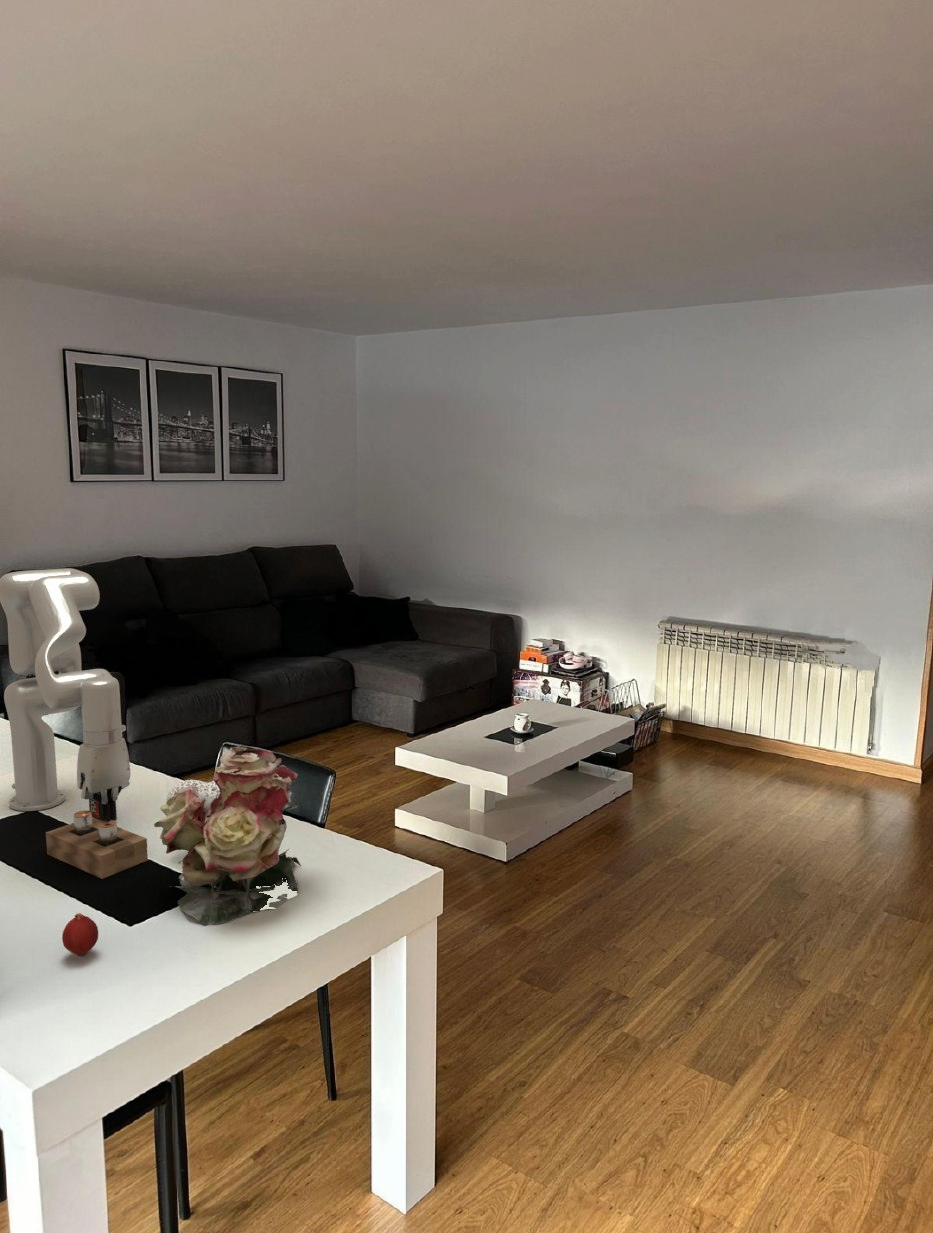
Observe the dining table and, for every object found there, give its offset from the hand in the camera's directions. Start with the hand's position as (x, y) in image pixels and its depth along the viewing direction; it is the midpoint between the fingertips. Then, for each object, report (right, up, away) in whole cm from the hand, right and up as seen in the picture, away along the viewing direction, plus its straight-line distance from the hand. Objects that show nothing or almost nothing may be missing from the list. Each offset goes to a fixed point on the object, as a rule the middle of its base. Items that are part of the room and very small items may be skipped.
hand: (107, 818), depth 195 cm
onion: (+9, -16, -34) cm, 39 cm away
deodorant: (-10, -6, +24) cm, 27 cm away
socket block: (-4, -9, +4) cm, 11 cm away
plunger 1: (-8, -5, +6) cm, 11 cm away
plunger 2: (0, -6, +1) cm, 6 cm away
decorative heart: (+20, -9, +7) cm, 23 cm away
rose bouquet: (+30, -13, -11) cm, 35 cm away
